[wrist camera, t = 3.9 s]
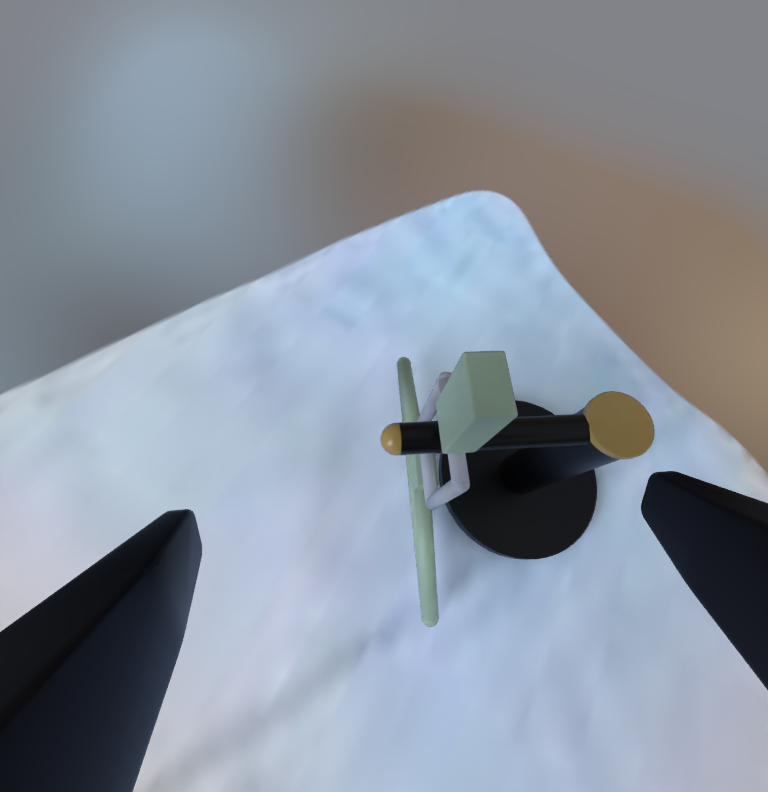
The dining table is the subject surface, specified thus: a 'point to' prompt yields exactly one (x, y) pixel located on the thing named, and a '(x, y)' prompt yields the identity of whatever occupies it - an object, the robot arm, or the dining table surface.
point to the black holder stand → (534, 471)
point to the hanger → (451, 445)
